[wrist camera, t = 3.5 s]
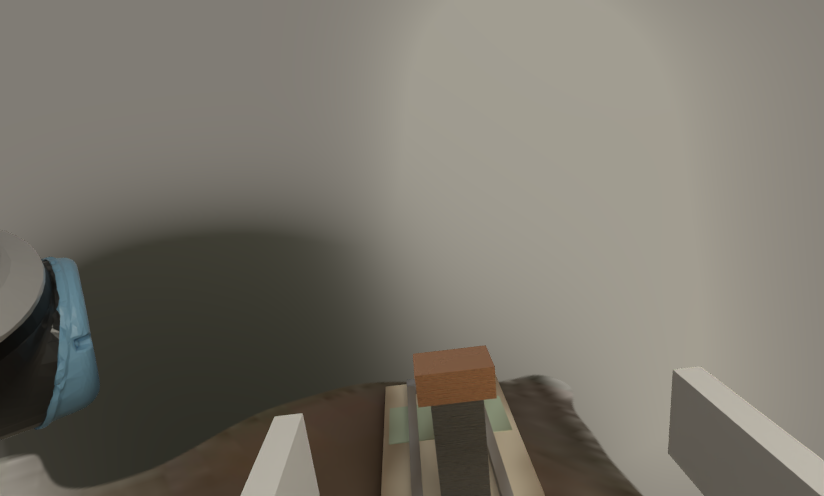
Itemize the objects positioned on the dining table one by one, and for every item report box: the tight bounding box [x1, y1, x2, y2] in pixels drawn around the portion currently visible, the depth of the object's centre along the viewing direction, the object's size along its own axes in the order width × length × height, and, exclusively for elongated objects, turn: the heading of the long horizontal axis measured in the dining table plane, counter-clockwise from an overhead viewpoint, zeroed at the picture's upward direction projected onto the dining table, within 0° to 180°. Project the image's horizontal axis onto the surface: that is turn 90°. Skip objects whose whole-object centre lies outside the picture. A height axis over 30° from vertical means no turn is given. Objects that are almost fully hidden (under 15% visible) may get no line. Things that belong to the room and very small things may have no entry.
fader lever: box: [413, 346, 497, 496], centre depth 26 cm, size 5×2×13 cm, turn 92°
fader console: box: [381, 375, 545, 496], centre depth 35 cm, size 12×24×3 cm, turn 2°
